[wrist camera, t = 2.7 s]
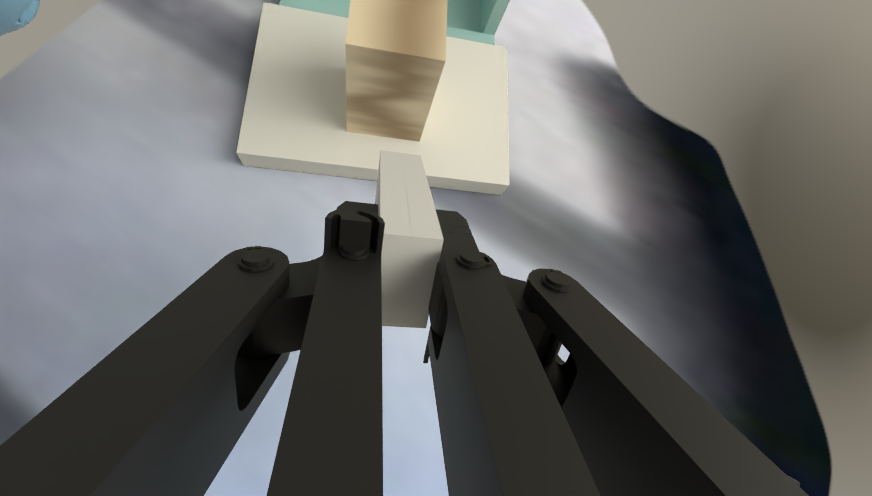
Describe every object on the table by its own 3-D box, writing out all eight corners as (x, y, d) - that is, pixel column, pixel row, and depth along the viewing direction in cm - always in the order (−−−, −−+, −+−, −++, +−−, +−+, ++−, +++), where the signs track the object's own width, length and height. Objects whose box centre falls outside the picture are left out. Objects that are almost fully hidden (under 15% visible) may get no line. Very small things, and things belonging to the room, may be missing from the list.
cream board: (243, 165, 30) (236, 152, 28) (268, 22, 34) (263, 2, 32) (500, 194, 34) (509, 185, 32) (499, 62, 37) (507, 47, 35)
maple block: (346, 131, 30) (345, 43, 22) (353, 69, 32) (354, -37, 23) (419, 141, 31) (445, 61, 23) (422, 80, 33) (448, -17, 24)
